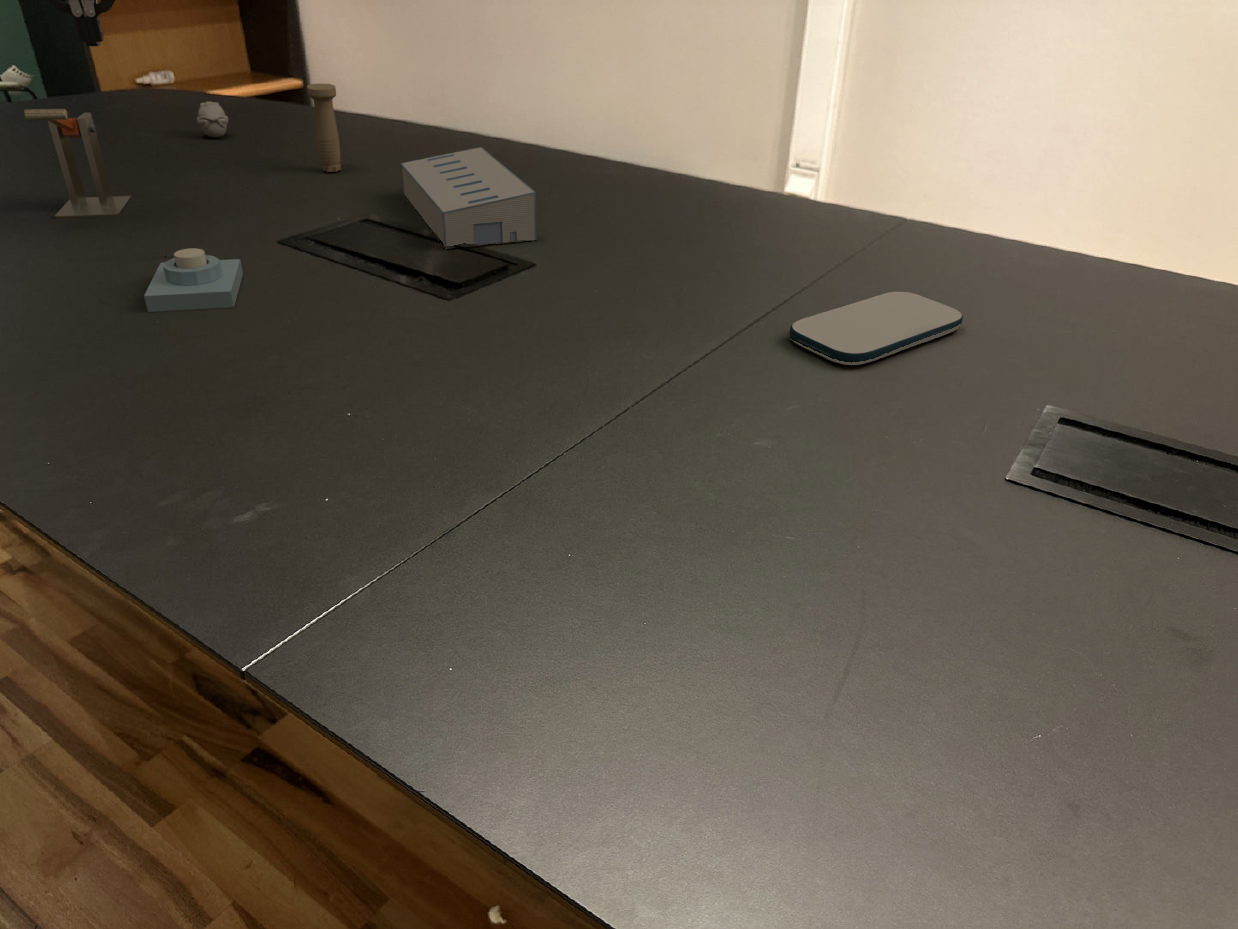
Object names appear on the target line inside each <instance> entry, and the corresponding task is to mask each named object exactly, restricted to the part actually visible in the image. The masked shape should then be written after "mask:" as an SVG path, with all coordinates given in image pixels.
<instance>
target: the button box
mask: <svg viewBox="0 0 1238 929" xmlns="http://www.w3.org/2000/svg"><path fill="white" fill-rule="evenodd" d="M205 256H206V261H207V265H205V266H202V267H197V268H189V269H183V268H177V266H176V262H175V258H174V257H172V258H171V259H168V260H167V261H165V262H160V263H159V265H158V267H157V269H156V271H155V273H154V275H153V276H152V280H151V281H150V283H149V285H148V286H147V289H146V291H145V292H144V295H143V299H144V301H145V302H144V303H145V306H146V309H147V313H158V312H159V313H160V312H175V311H192V310H212V309H227V308H228V309H229V308H235V306H236V301H237V297H238V294H239V291H240V286H241V283H242V280H243V277H244V276H243V275H244V271H243V267H242V262H241V259H240V258H235V259H234V258H233V259H219V258H218V257H216V256H214V255H212V254H211V255H210V254H205Z"/></svg>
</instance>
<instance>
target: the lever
mask: <svg viewBox="0 0 1238 929" xmlns="http://www.w3.org/2000/svg"><path fill="white" fill-rule="evenodd" d="M23 112H24V117H25V119H26V120H27V121H47V122H48V121H49V122H51V123H53V124H55V125H58V126H60V127H62V132H63V135H64V136H67V137H69V139H82V136H81V132H80V129H79V125H78V121H77V118H78V117H69V116H68V111H67V110H66V108H25V109H24V111H23Z"/></svg>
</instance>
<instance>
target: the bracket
mask: <svg viewBox="0 0 1238 929" xmlns="http://www.w3.org/2000/svg"><path fill="white" fill-rule="evenodd" d="M76 118H77V121H78V125H79V129H80V132H81V136H82V138H81V140H82V143H83V146H84V150H85V154H86V158H87V162H88V165H89V168H90V173H91V176H92V181H93V185H94V187H95V190H96V191H95V192H96V194H97V196H88V197H86V194H85V190H84V186H83V183H82V180H81V176H80V172H79V169H78V166H77V161H76V158H75V155H74V151H73V147H72V143H71V140H70V138H69V137H67V136H64V135H63V132H62V127H60V126H58V125H55V124H53V123H51V122H49V121H47V123H48V124H47V125H48V129H49V132H50V134H51V138H52V140H53V144H54V148H55V152H56V156H57V158H58V162H59V165H60V169H61V173H62V176H63V179H64V183H65V186H66V190H67V193H68V197H69V199H68V200H67V201H66V203H65V204H64V205H62V207H61V208H60V209H59V211H57V213H56V214H55V215H54V219H55V220H61V219H62V220H64V219H67V220H68V219H91V218H92V219H94V218H118V217H120V216H121V215H122V214H123V212H124V210H125V209H126V207H128V205H129V204H130V202H131V201H132V196H131V195H121V196H118V195H117V196H113V192H112V188H111V184H110V181H109V177H108V173H107V168H106V165H105V162H104V158H103V153H102V150H101V146H100V142H99V138H98V134H97V127H96V125H95V123H94V119H93V116H92V112H83V113H82V114H81V115H79V116H78V117H76Z"/></svg>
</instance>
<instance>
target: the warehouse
mask: <svg viewBox="0 0 1238 929" xmlns="http://www.w3.org/2000/svg"><path fill="white" fill-rule="evenodd" d="M400 171H401V173H400V174H401V181H402V193H405V195H406V196H407V198H409V200H410V201H411V203H412V204H413V205H414V207H415V209H416V210H418V212H419V214H420V215H421V216H422V217H423V219H424V220H425V222H427V224H428V225H429V227H430V228H431V229H432V230H433V232H434V233H436V234H437V235H438V237H439V238H440V240H441V241H442V242H443V244H444V246H454V245H458V244H463V243H466V244H484V243H486V244H487V243H494V242H496V243H497V242H508V241H514V240H516V241H517V240H518V241H519V240H537V241H538V239H537V237H538V236H537V235H538V234H537V231H538V230H537V229H538V228H537V225H538V224H537V192H536V191H535V190H534V189H533V188H532V187H531V186H530V185H528V184H527V183H526V182H525V181H523V179H521V178H520V177H519V176H517V175H516V174H515V173H513V171H511V170H510V169H509V168H507V167H506V166H505V165H504V164H503V163H501V161H499V160H498V159H496V158H495V156H493V155H492V154H490V153H489V152H488V151H487V150H486V149H485V148H483V147H482V146H479V147H474V148H469V149H463V150H459V151H454V152H449V153H445V154H440V155H435V156H430V157H425V158H421V159H415V160H410V161H405V162H401V163H400ZM415 209H414V210H415ZM425 222H424V223H425Z"/></svg>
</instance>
